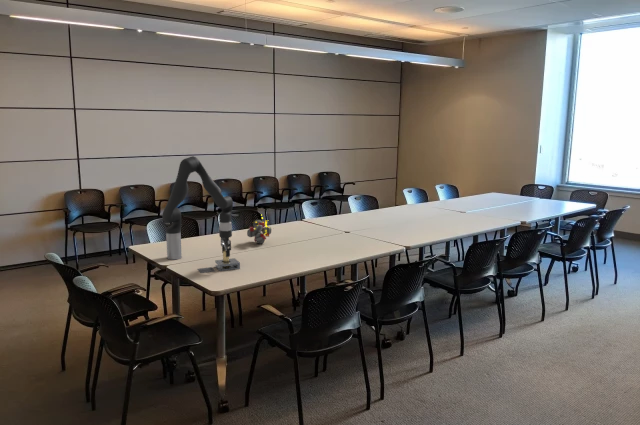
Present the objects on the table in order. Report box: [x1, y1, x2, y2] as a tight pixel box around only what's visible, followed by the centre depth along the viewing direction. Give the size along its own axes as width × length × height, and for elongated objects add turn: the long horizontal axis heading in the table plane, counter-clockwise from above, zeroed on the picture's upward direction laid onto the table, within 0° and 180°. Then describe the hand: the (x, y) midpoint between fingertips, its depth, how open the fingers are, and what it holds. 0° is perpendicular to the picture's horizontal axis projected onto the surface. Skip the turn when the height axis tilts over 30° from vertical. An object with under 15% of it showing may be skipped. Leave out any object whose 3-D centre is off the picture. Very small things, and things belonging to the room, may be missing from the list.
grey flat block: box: [214, 258, 241, 272], centre depth 310 cm, size 11×12×4 cm
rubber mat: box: [196, 267, 216, 274], centre depth 305 cm, size 10×9×1 cm
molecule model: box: [246, 214, 274, 245], centre depth 373 cm, size 25×21×23 cm
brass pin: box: [222, 250, 230, 268], centre depth 309 cm, size 4×4×11 cm
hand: (226, 254), depth 309 cm, fingers open, 8 cm apart
